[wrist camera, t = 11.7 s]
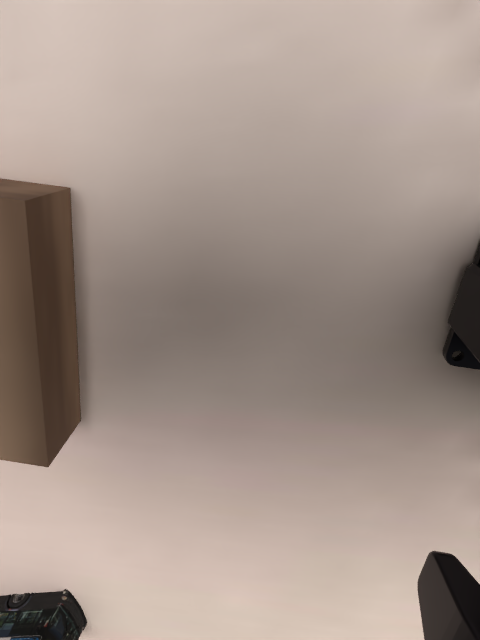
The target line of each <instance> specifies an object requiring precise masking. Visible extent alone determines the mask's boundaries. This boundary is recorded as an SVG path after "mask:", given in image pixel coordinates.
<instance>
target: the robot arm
mask: <svg viewBox="0 0 480 640" xmlns="http://www.w3.org/2000/svg"><path fill="white" fill-rule="evenodd" d="M448 323H449V325H450V326H451V329H450V332H449V335H448V338H447V341H446V344H445V346H444V349H443V356H444V358H445V359H446V361H447V362H448V363H449V364H450V365H453V366H458V367H465V368H472V369H479V370H480V245H479V248H478V251H477V253H476V256H475V259H474V262H473V264H471V265H470V266H469V267H467V268H466V270H465V273H464V276H463V279H462V282H461V285H460V288H459V290H458V293H457V296H456V299H455V302H454V305H453V308H452V311H451V314H450V317H449V320H448ZM456 351H461V353H460V354H459V355H458V356H456V357H452V354H453V353H454V352H456ZM418 596H419V603H420V610H421V617H422V625H423V632H424V639H425V640H480V584H479V583H478V582H477V581H476V580H475V579H474V577H473V576H472V575H471V574H470V573H469V572H468V571H467V569H466V568H465V567H464V566H463V565H462V564H461V562H460V561H459V560H458V559H457V558H456V557H455V556H454V555H452V554H449V553H443V552H437V551H432V552H430V553H429V555H428V557H427V559H426V561H425V564H424V566H423V569H422V571H421V573H420V576H419V579H418Z"/></svg>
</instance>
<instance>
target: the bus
mask: <svg viewBox="0 0 480 640" xmlns="http://www.w3.org/2000/svg"><path fill="white" fill-rule="evenodd" d="M86 624H87V620H86V617H85V615H84V613H83V610H82V608H81V606H80V605H79V603H78V602H77V600H76V599H75V598H74V596H73V595H72V594H71V593H70V592H69V591H68V590H66V589H64V591H61V592H45V593H31V595H30V593H25V594H23V595H22V594H21V595H19V594H13V595H12V596H11V595H6V596H0V640H78V639H79V637H80V635H81V632H82V630H84V629H85V626H86Z"/></svg>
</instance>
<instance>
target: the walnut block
mask: <svg viewBox="0 0 480 640" xmlns="http://www.w3.org/2000/svg"><path fill="white" fill-rule="evenodd" d="M80 421H81V410H80V388H79V367H78V345H77V324H76V302H75V281H74V259H73V237H72V216H71V194H70V188H67V187H60V186H52V185H45V184H37V183H29V182H22V181H14V180H7V179H0V460H6V461H12V462H19V463H25V464H31V465H38V466H44V467H49V465H50V464H51V462H52V461H53V460H54V458H55V457H56V455H57V454H58V452H59V451H60V450H61V448H62V447H63V445H64V444H65V442H66V441H67V440H68V438H69V437H70V435H71V434H72V432H73V431H74V430H75V428H76V427H77V425H78V424H79V422H80Z"/></svg>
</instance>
